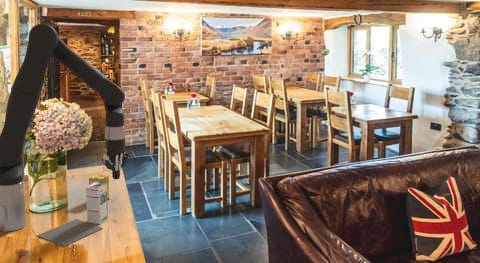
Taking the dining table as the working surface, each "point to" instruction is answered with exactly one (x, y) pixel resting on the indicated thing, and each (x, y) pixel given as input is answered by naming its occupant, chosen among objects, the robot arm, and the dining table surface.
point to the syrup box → (96, 203)
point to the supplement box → (100, 181)
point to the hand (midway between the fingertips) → (116, 178)
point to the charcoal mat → (69, 232)
